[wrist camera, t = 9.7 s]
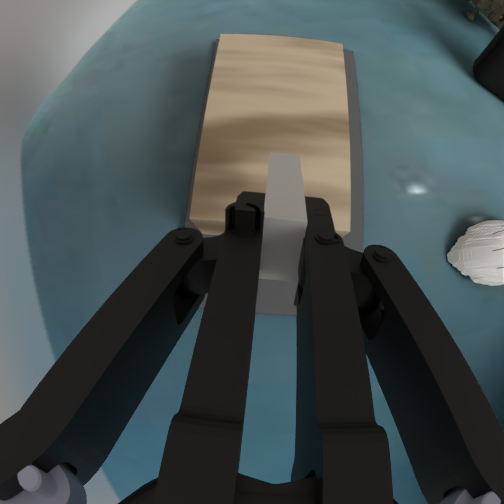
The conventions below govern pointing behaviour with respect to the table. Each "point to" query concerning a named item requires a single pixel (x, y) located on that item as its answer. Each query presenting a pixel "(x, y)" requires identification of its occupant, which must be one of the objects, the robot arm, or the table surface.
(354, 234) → the mat
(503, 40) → the carrying case or bag
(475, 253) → the white oblong lump
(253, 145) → the slab
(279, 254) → the robot arm
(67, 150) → the table surface
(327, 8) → the table surface
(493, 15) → the tabletop clock
